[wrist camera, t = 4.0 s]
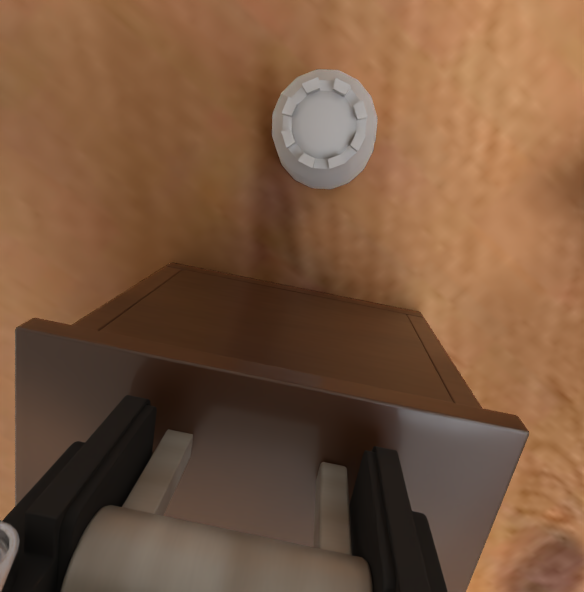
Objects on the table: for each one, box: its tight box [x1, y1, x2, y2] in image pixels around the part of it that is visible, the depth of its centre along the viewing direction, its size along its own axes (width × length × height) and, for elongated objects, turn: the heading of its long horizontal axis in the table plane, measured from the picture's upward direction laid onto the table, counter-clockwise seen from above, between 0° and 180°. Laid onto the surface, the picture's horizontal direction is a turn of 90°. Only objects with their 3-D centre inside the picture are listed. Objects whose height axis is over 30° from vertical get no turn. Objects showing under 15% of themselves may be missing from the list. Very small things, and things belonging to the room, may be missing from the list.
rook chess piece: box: [272, 69, 378, 189], centre depth 17 cm, size 4×4×8 cm
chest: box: [73, 263, 482, 408], centre depth 20 cm, size 16×13×11 cm
